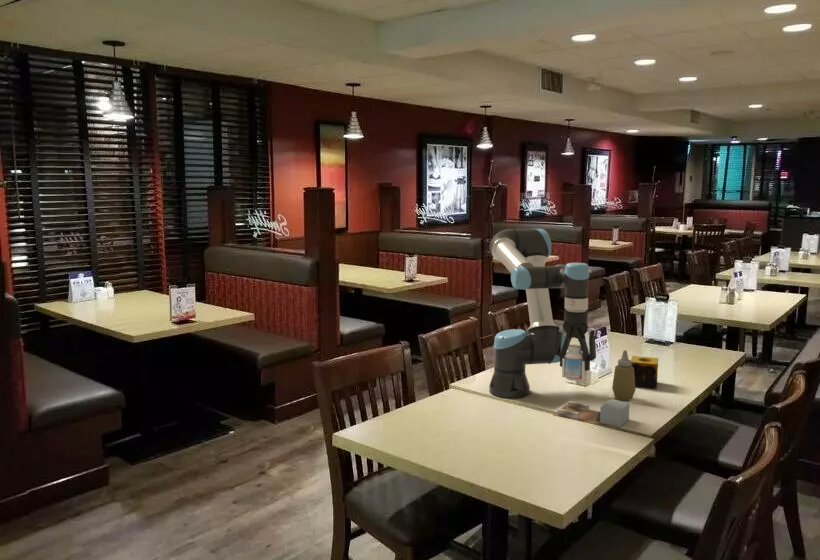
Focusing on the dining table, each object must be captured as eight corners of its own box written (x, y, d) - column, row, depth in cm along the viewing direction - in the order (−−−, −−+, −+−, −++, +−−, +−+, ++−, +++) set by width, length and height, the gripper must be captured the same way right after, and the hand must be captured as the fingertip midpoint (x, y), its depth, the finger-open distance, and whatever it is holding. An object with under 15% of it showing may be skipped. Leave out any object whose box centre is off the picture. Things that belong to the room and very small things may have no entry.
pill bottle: (584, 381, 214) (585, 348, 212) (565, 381, 215) (566, 347, 213) (583, 376, 220) (584, 344, 218) (564, 375, 221) (565, 343, 219)
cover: (599, 423, 209) (600, 407, 209) (609, 414, 217) (609, 399, 216) (620, 427, 206) (620, 411, 205) (628, 418, 213) (629, 402, 212)
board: (552, 419, 218) (552, 407, 217) (565, 409, 227) (566, 398, 227) (617, 433, 205) (618, 421, 204) (629, 421, 215) (629, 410, 214)
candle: (628, 386, 251) (629, 361, 249) (630, 379, 260) (631, 355, 259) (656, 389, 247) (657, 364, 246) (657, 382, 256) (658, 357, 255)
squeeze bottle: (636, 396, 239) (638, 349, 237) (633, 403, 232) (635, 354, 229) (613, 393, 243) (615, 347, 240) (610, 400, 235) (612, 352, 233)
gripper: (544, 308, 216) (543, 376, 220) (600, 315, 205) (598, 385, 209) (553, 305, 223) (552, 370, 226) (608, 311, 212) (606, 379, 215)
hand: (574, 377), depth 217 cm, fingers closed on pill bottle, 6 cm apart
